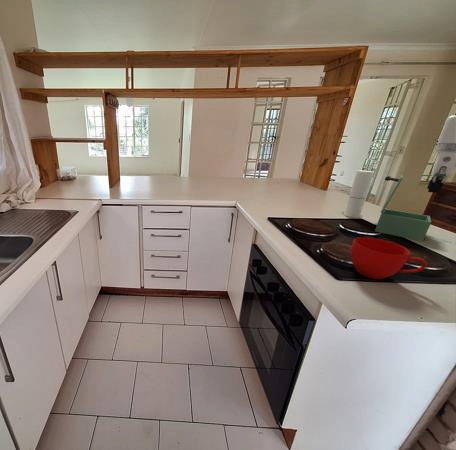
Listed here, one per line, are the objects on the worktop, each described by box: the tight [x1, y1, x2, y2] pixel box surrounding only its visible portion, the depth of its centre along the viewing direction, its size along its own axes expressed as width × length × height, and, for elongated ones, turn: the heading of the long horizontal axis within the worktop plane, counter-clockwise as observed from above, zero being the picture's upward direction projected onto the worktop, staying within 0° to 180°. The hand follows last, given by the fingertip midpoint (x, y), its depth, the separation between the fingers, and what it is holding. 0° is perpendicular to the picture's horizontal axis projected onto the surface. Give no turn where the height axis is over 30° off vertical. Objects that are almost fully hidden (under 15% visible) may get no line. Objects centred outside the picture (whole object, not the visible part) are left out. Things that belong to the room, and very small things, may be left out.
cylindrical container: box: [343, 169, 375, 219], centre depth 129 cm, size 7×7×25 cm
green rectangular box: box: [374, 208, 432, 242], centre depth 108 cm, size 16×13×9 cm
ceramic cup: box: [350, 236, 428, 280], centre depth 73 cm, size 13×17×10 cm
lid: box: [380, 174, 405, 213], centre depth 110 cm, size 16×13×5 cm
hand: (432, 190), depth 100 cm, fingers open, 9 cm apart
